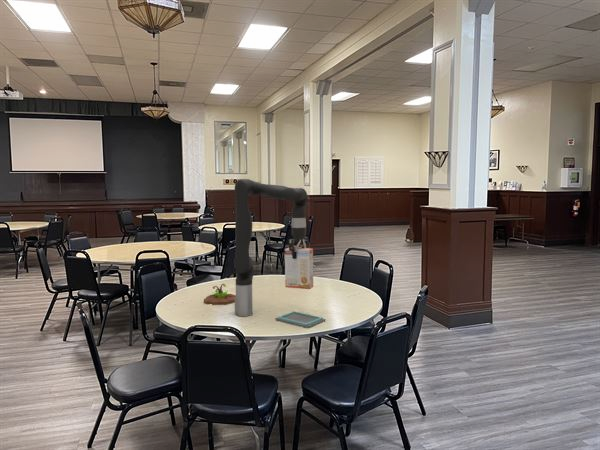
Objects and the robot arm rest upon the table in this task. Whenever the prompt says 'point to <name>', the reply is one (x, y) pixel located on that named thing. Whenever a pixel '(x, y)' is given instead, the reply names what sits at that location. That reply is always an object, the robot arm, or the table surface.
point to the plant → (220, 297)
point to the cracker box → (299, 268)
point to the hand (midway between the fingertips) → (299, 257)
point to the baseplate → (300, 319)
